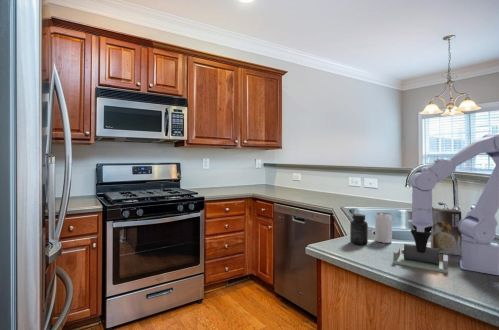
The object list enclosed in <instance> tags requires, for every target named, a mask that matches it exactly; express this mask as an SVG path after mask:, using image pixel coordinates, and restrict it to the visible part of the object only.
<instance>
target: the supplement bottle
mask: <svg viewBox="0 0 499 330" xmlns="http://www.w3.org/2000/svg"><path fill="white" fill-rule="evenodd" d="M368 226H369V225H368V222H367V221H366V215H365V214H361V213H354V214H352V220H351V221H350V225H349V232H350V235H349V236H350V237H349V238H350V239H349V240H350V241H349V242H350V244H352V245H354V246H362V247H363V246H367V245H368V244H369V243H368V241H369V240H368V239H369V238H368V237H369V233H368V232H369V227H368Z"/></svg>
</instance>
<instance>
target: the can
mask: <svg viewBox="0 0 499 330" xmlns="http://www.w3.org/2000/svg"><path fill="white" fill-rule="evenodd" d="M374 217H375V219H374V220H375V222H374V223H375V224H374V233H375V234H374V240H375V242H377V241H378V243H379V242H382V243H381V244H391V243H392V241H393V218H392V216H391V213H390V212H389V213H388V212H376V215H375V216H374ZM390 242H391V243H390Z"/></svg>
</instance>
